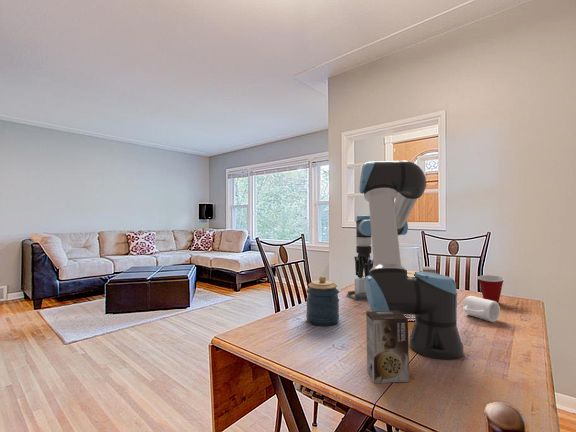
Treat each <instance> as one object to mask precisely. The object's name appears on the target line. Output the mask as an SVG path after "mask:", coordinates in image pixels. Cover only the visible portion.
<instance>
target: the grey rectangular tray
mask: <svg viewBox="0 0 576 432" xmlns="http://www.w3.org/2000/svg"><path fill="white" fill-rule="evenodd" d="M346 297H348V298H349V299H352V300H355V301H358V300H367V295H366V293H360V294H355V290H349V291H347V293H346Z"/></svg>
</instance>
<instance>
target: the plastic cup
mask: <svg viewBox="0 0 576 432" xmlns="http://www.w3.org/2000/svg"><path fill="white" fill-rule="evenodd" d="M476 278H477V279H478V281H479V286H480V289H481V294H482V298H483V299H487V300H491V301H495V302H497V303H498V304H499V303H500V298H501V293H502V290H503V289H502V288H503V283H504V281H505V277H502V276H499V275H491V274H490V275H489V274H487V275H486V274H485V275H484V274H483V275H479V276H477V277H476Z"/></svg>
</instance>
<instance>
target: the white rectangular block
mask: <svg viewBox="0 0 576 432" xmlns="http://www.w3.org/2000/svg"><path fill="white" fill-rule="evenodd" d="M364 278H365V277H364ZM364 278H359V277H358V278H357V277H356V278H354V291H355V294H360V293H366V292H364Z"/></svg>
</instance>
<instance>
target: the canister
mask: <svg viewBox="0 0 576 432" xmlns="http://www.w3.org/2000/svg"><path fill="white" fill-rule="evenodd" d="M337 287H338V285H337V283H334V281H332V280H328V279H327V278H326V277H325V275H321V276H320V277H319V278H318V279H316V280H312V281H311V282H310V283H308V288H307V289H305V290H306V291H305V292H306V294H307V297H306V299H305V300H306V301H305V302H306V316H305V317H306V321H307V322H308V323H309V324H310V325H314V326H318V327H319V326H320V327H328V326H334V325H336V324H338V323H339V322H340V321H339V320H340V311H339V307H340V306H339V305H340V303H339V302H340V299H339V295H338V294H339V293H340V290H339V289H337Z"/></svg>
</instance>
